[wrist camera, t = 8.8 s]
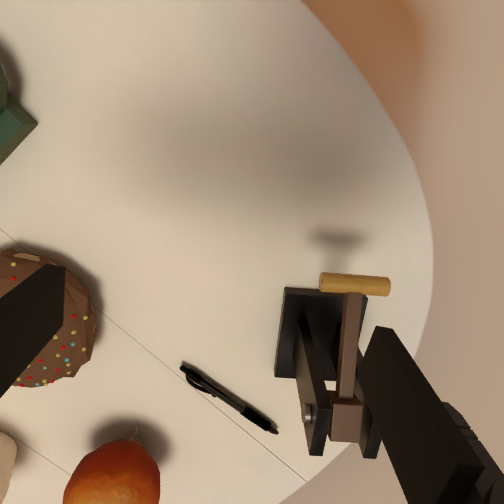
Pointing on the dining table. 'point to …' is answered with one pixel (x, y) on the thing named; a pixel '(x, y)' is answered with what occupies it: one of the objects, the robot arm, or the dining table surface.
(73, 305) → the donut
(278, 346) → the switch bracket
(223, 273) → the dining table surface
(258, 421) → the pen
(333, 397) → the lever
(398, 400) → the robot arm
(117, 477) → the fruit
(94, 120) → the dining table surface
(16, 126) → the button block
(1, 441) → the mug
